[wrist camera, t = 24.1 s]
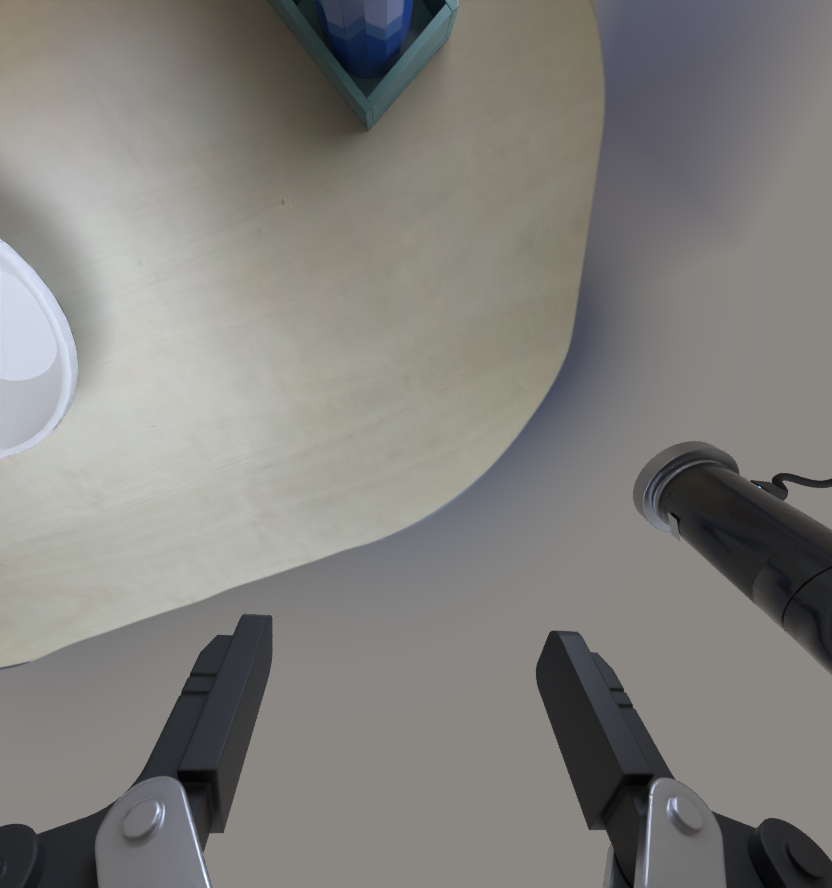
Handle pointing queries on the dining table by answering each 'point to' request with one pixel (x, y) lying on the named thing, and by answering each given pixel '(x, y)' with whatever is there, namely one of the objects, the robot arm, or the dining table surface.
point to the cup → (365, 33)
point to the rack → (374, 96)
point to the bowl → (31, 357)
